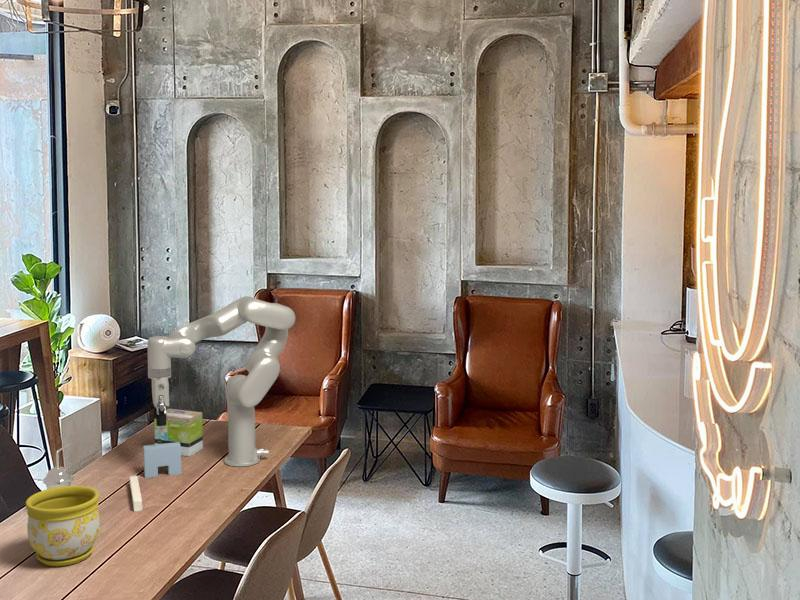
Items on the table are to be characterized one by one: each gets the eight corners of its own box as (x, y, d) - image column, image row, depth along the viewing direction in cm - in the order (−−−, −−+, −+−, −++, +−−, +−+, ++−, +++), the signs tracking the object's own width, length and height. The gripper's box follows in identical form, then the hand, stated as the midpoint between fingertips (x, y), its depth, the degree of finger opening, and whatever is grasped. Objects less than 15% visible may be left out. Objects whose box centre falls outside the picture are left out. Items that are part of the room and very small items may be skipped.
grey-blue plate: (180, 469, 288) (179, 442, 287) (181, 473, 284) (180, 445, 282) (144, 473, 284) (143, 445, 282) (145, 477, 279) (144, 449, 278)
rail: (137, 484, 273) (137, 475, 273) (142, 510, 251) (142, 501, 250) (129, 485, 272) (129, 476, 272) (134, 511, 250) (133, 502, 250)
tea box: (154, 453, 306) (152, 414, 304) (169, 445, 316) (168, 407, 314) (189, 457, 302) (188, 417, 300) (204, 449, 311) (203, 411, 309)
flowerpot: (79, 536, 232) (76, 480, 230) (114, 554, 221) (112, 495, 218) (15, 557, 218) (12, 498, 216) (50, 578, 207) (47, 515, 205)
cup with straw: (40, 510, 250) (37, 446, 248) (71, 503, 256) (68, 441, 254) (49, 518, 244) (46, 453, 241) (80, 511, 250) (77, 447, 247)
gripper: (173, 377, 272) (174, 427, 274) (168, 367, 288) (169, 414, 290) (149, 378, 270) (150, 429, 272) (146, 368, 286) (146, 416, 288)
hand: (160, 421), depth 281 cm, fingers open, 9 cm apart
